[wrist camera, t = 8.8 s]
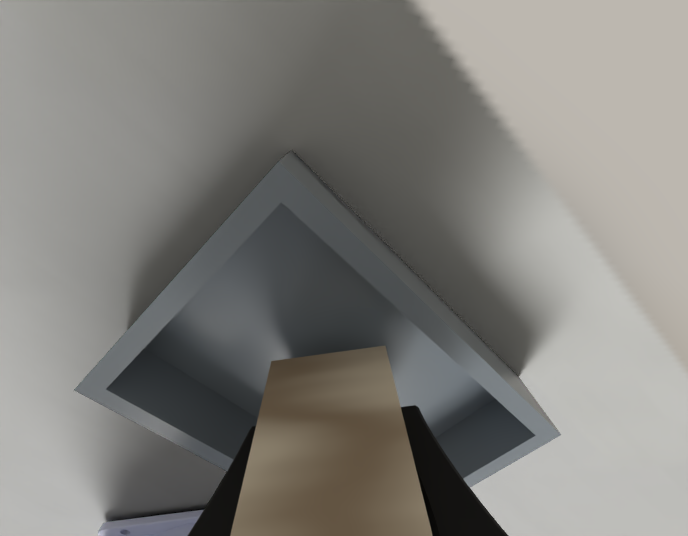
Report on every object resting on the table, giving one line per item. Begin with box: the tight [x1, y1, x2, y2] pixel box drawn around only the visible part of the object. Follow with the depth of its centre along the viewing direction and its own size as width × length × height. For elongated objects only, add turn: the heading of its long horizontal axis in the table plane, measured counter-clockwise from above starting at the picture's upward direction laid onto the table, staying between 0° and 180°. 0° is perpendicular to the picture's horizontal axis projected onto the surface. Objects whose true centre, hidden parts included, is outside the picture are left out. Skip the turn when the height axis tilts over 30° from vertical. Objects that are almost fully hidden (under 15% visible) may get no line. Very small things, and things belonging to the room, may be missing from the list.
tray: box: [74, 150, 561, 488], centre depth 13 cm, size 10×14×3 cm
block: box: [230, 346, 433, 536], centre depth 9 cm, size 4×4×6 cm
